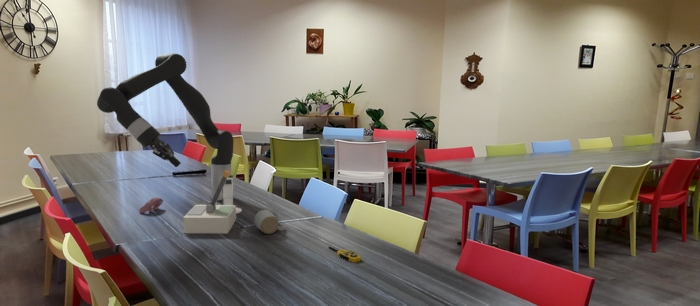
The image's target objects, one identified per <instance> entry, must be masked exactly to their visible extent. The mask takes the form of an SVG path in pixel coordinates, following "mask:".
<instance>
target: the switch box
mask: <svg viewBox="0 0 700 306" xmlns="http://www.w3.org/2000/svg"><path fill="white" fill-rule="evenodd" d="M211 202H212V200H211V201H209V202H208V204H195V205H194V206H193V207H192V208H191V209H190V210H189V211H188V212H187V213H186V214H185V215H184V216H183V221H182V222H183V224H182V225H183V234H229V232H230V231H231V229H232V227H233V226H234V224H235V222H236V220H237V214H236V207H237V204H233V205H223V204H216V205H215V207H214V209H213V205H210V204H211Z"/></svg>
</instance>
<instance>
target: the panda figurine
mask: <svg viewBox="0 0 700 306" xmlns="http://www.w3.org/2000/svg"><path fill="white" fill-rule="evenodd" d="M233 177H234V175H232V174H231V175H229V177H228V178H227V180H226V182H225V185H224V187H223V189H222V193H223V199H222V200H221V201H222V204H221V205H234V178H233ZM241 212H242V208H241V207H237V206H236V215H237V214H240V213H241Z"/></svg>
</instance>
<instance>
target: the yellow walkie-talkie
mask: <svg viewBox="0 0 700 306" xmlns="http://www.w3.org/2000/svg"><path fill="white" fill-rule="evenodd" d="M328 249H330V250H332V251H335V252H337V253H336V254H338V255H339V256H340V257H341V258H340V257H339V256H338V255H337V256H338V257H339V258H340V259H342V258H343V259H342V260H344V259H345V261H347V260H348V261H347V262H350V261H352V262H351V263H354V262H355V263H358V262H357V261H359V262H361V261H362V257H361V256H360V255H359V254H358V253H356V252H354V251H351V250H349V249H343V248H342V249H339V250H338V249H336V248H334V247H332V246H330V245H329V246H328ZM360 260H361V261H360Z"/></svg>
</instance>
